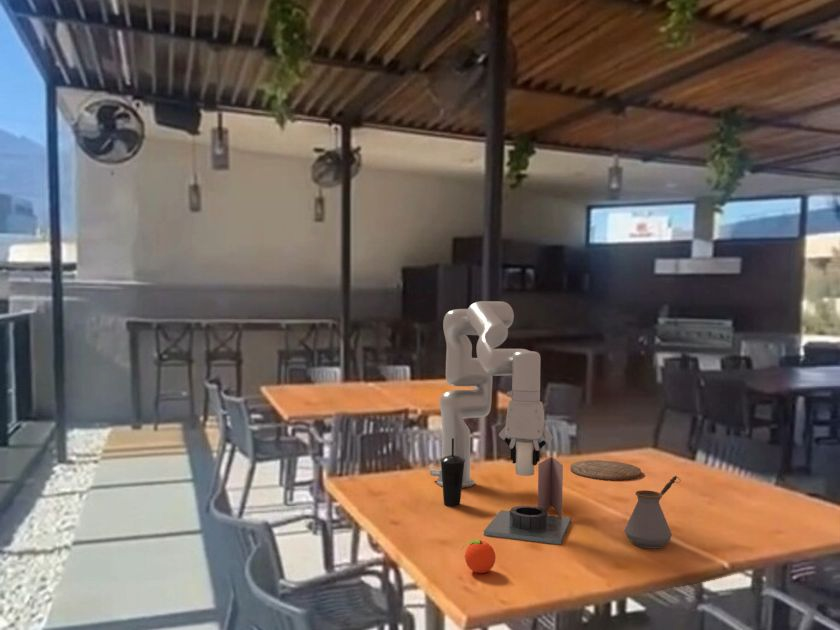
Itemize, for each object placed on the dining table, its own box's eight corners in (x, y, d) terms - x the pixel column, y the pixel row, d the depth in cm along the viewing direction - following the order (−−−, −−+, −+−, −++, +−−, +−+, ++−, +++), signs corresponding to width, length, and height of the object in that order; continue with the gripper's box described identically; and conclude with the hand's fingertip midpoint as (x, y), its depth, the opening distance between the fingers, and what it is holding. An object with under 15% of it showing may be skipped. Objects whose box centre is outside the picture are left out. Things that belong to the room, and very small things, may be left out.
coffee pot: (657, 554, 172) (658, 493, 171) (615, 542, 180) (616, 484, 180) (696, 535, 186) (698, 479, 186) (656, 525, 195) (657, 471, 194)
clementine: (456, 574, 157) (456, 543, 157) (465, 564, 164) (465, 533, 164) (490, 580, 154) (491, 547, 154) (498, 569, 161) (499, 538, 161)
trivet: (629, 485, 239) (629, 480, 239) (560, 474, 253) (560, 469, 253) (649, 471, 260) (649, 466, 260) (583, 462, 274) (584, 457, 274)
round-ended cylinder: (513, 474, 189) (513, 437, 189) (517, 470, 194) (517, 434, 194) (532, 476, 187) (532, 439, 187) (536, 472, 192) (536, 436, 192)
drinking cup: (468, 502, 214) (469, 437, 214) (459, 509, 207) (460, 442, 207) (445, 499, 217) (446, 435, 217) (435, 506, 210) (436, 439, 210)
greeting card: (548, 505, 213) (549, 456, 213) (572, 509, 209) (572, 459, 209) (534, 514, 203) (535, 463, 203) (559, 519, 199) (560, 466, 199)
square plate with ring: (483, 535, 184) (483, 517, 184) (500, 514, 203) (501, 497, 203) (560, 544, 178) (560, 526, 178) (570, 522, 196) (571, 505, 196)
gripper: (492, 396, 190) (491, 463, 190) (555, 400, 184) (554, 469, 184) (498, 393, 197) (497, 458, 197) (559, 396, 191) (558, 463, 191)
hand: (525, 462), depth 191 cm, fingers closed on round-ended cylinder, 4 cm apart
